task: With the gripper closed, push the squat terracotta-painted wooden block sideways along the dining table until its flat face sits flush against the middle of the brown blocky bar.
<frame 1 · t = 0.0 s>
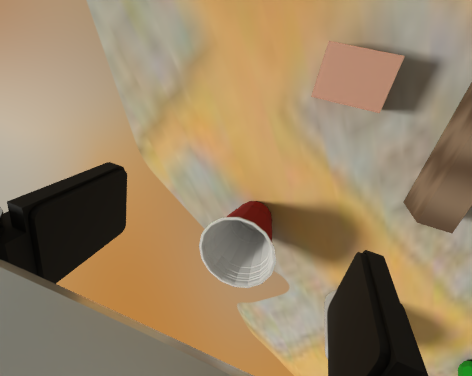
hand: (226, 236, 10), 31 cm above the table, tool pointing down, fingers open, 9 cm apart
green ball: (470, 363, 44), on the table
plastic cup: (255, 213, 46), on the table
terracotta block: (350, 77, 34), on the table
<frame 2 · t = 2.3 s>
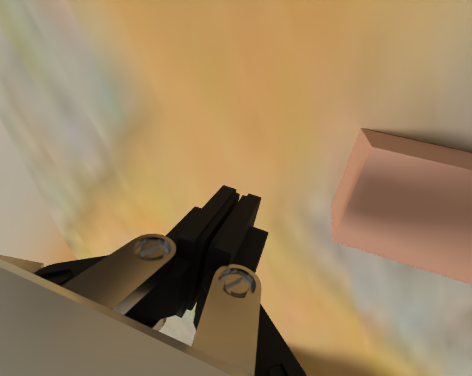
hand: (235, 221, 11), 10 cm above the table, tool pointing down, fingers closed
terracotta block: (404, 183, 18), on the table
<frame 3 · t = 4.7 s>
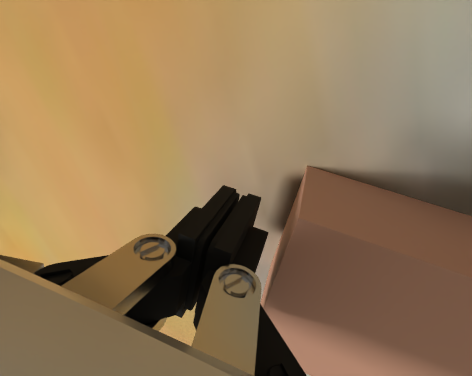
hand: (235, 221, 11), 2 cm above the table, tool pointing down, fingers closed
terracotta block: (369, 248, 12), on the table, touching gripper
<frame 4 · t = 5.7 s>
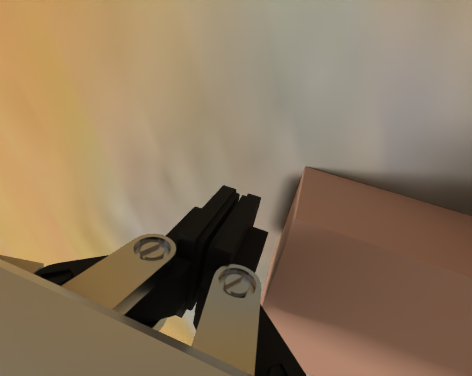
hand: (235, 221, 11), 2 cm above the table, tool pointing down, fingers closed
terracotta block: (367, 248, 12), on the table, touching gripper, brown blocky bar
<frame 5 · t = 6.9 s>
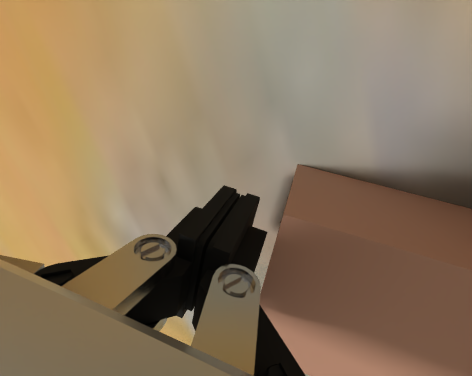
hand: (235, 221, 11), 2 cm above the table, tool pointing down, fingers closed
terracotta block: (364, 244, 12), on the table, touching gripper, brown blocky bar
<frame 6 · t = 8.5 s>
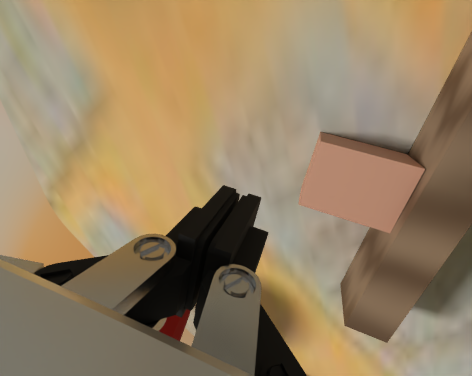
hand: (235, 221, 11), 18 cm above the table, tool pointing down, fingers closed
brown blocky bar: (417, 184, 25), on the table
plastic cup: (180, 281, 39), on the table
terracotta block: (350, 170, 26), on the table
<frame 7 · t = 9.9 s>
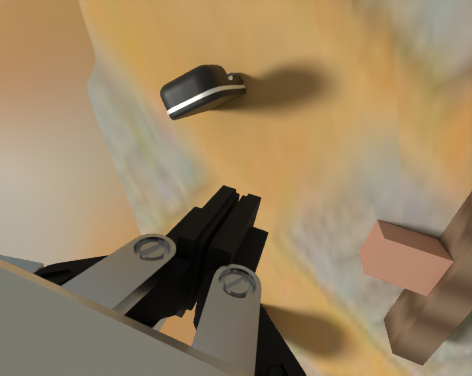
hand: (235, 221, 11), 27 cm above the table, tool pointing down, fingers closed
brown blocky bar: (444, 258, 36), on the table
battery charger: (222, 88, 36), on the table
terracotta block: (396, 245, 37), on the table
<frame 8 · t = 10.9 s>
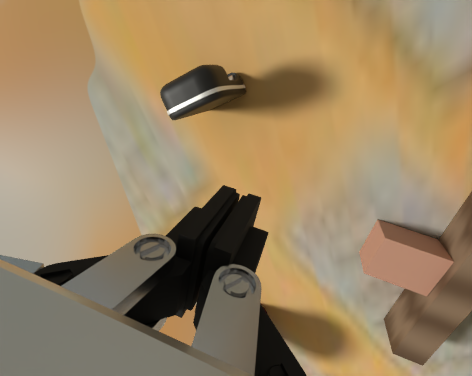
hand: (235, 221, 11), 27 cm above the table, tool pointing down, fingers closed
brown blocky bar: (445, 257, 36), on the table
battery charger: (222, 88, 36), on the table
terracotta block: (396, 245, 37), on the table
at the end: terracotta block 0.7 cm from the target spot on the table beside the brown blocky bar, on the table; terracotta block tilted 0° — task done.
